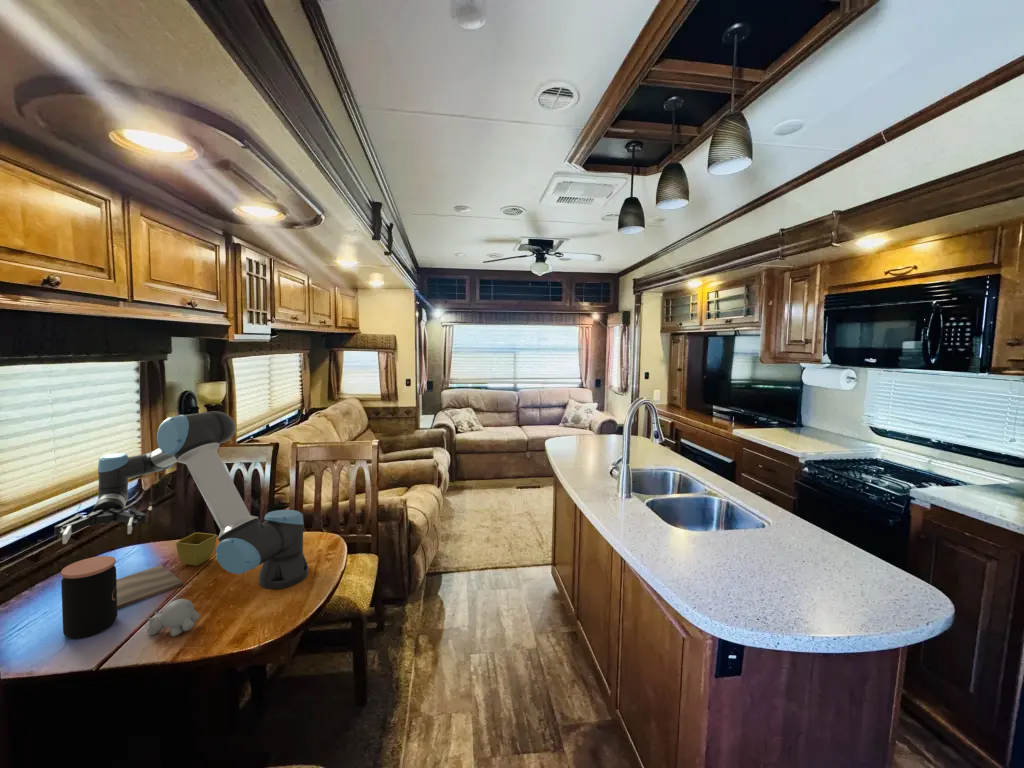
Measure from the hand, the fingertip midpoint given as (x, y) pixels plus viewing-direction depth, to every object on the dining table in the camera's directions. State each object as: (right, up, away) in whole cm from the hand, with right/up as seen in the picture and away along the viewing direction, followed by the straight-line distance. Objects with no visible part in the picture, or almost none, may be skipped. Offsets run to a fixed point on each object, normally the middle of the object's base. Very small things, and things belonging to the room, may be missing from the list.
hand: (97, 534), depth 123 cm
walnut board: (0, -22, +13) cm, 26 cm away
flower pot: (+6, -21, +30) cm, 38 cm away
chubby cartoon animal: (+27, -25, -6) cm, 37 cm away
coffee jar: (+4, -24, -6) cm, 25 cm away
